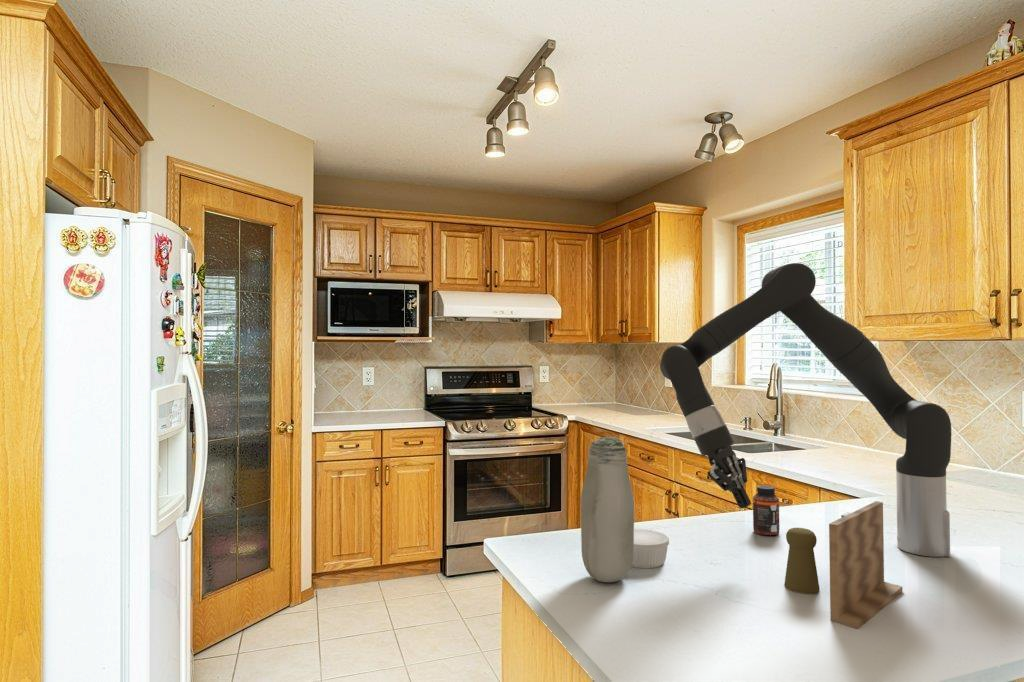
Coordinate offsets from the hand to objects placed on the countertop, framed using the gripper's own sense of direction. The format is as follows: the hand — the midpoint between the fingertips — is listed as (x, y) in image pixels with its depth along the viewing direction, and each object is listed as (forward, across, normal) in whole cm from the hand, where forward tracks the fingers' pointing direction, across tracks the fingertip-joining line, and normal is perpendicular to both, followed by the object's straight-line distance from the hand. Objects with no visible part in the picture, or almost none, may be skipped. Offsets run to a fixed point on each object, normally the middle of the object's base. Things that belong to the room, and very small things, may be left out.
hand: (746, 506), depth 125 cm
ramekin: (+3, -15, +20) cm, 25 cm away
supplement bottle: (+10, +23, +12) cm, 27 cm away
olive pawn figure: (+16, -5, -6) cm, 18 cm away
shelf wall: (+21, -5, -16) cm, 27 cm away
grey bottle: (+3, -29, +18) cm, 34 cm away
